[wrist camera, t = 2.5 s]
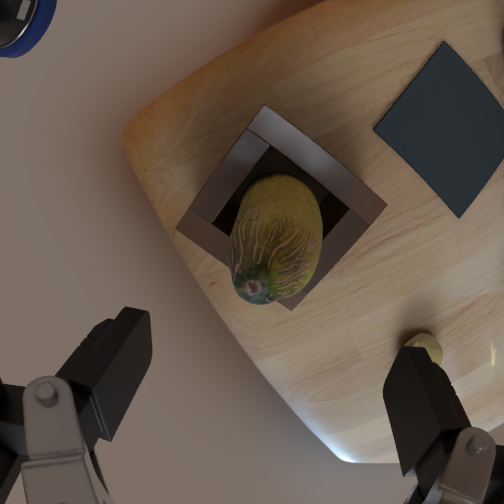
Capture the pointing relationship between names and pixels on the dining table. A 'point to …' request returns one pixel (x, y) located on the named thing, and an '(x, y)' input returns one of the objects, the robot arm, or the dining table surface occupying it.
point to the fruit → (427, 346)
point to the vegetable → (275, 239)
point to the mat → (447, 129)
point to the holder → (307, 158)
